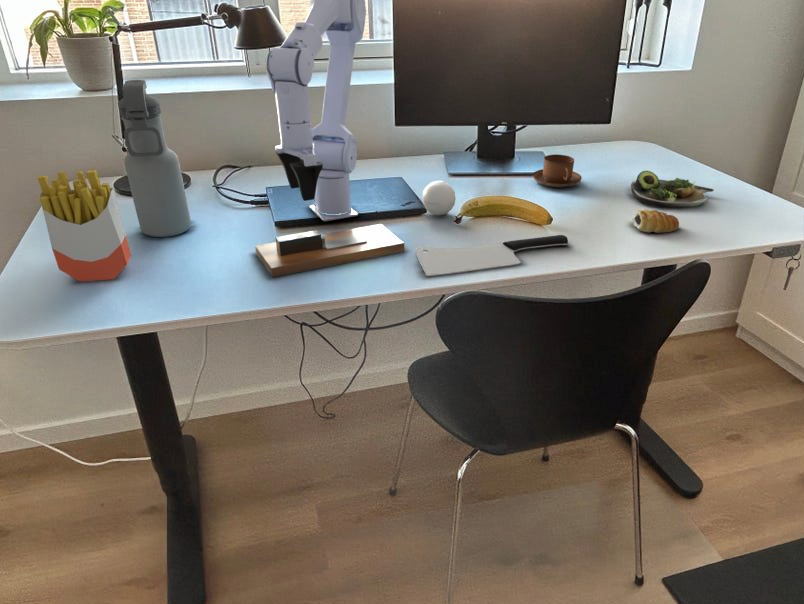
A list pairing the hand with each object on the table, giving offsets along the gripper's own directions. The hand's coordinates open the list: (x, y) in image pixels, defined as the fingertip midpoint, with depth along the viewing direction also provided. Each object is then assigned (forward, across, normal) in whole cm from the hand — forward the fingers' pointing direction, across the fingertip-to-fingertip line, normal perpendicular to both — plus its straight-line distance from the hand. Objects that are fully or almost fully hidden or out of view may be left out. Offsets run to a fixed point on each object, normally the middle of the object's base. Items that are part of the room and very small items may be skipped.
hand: (302, 193), depth 127 cm
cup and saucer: (+10, -7, +67) cm, 68 cm away
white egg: (+10, -1, +29) cm, 31 cm away
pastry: (+10, +26, +68) cm, 73 cm away
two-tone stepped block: (+8, +9, 0) cm, 12 cm away
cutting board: (+9, +8, +2) cm, 13 cm away
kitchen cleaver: (+10, +24, +30) cm, 40 cm away
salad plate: (+10, +12, +85) cm, 86 cm away
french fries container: (+10, 0, -38) cm, 39 cm away
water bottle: (+10, -17, -24) cm, 31 cm away
